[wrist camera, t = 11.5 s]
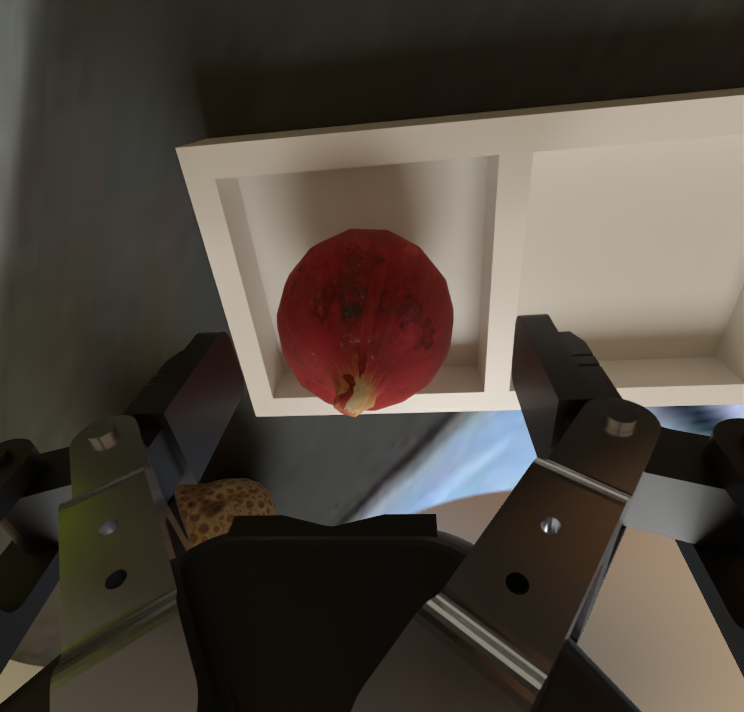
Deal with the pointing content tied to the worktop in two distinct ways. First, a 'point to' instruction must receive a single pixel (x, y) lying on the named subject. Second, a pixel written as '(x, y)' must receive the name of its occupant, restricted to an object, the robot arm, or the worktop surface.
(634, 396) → the well holder
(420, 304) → the onion
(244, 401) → the worktop surface
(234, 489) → the natural sponge
